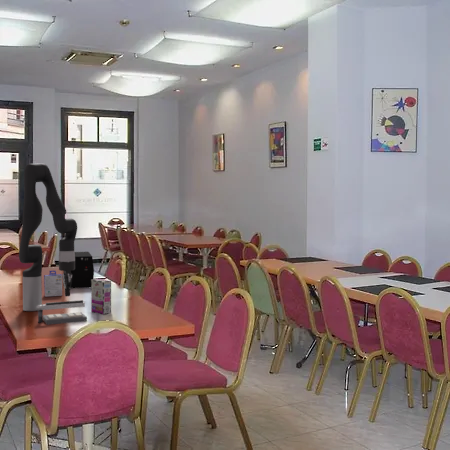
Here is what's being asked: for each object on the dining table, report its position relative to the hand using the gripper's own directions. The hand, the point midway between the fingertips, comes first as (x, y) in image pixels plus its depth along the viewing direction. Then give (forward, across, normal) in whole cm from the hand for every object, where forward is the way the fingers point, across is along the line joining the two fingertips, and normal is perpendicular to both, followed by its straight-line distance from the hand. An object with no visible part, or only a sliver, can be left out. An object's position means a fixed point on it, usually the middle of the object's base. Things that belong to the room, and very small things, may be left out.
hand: (67, 296), depth 286 cm
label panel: (+10, +7, -3) cm, 13 cm away
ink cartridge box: (+9, -65, +4) cm, 65 cm away
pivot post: (+10, +8, -14) cm, 19 cm away
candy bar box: (+10, -4, +17) cm, 20 cm away
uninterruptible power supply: (+9, -102, +26) cm, 106 cm away
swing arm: (+4, +8, -4) cm, 10 cm away
